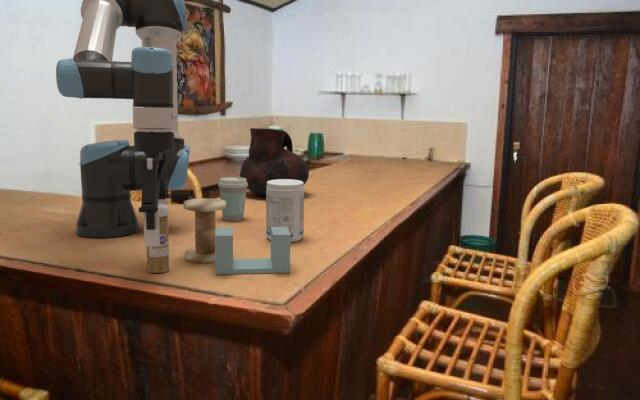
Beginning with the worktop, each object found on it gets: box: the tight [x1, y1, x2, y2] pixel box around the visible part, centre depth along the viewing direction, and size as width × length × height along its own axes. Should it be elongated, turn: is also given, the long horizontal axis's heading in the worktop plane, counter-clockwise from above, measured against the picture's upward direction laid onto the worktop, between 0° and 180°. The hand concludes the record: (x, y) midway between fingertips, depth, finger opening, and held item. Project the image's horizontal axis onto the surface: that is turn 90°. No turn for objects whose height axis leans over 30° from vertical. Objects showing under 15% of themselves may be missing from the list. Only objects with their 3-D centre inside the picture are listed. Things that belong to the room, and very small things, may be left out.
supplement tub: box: [265, 179, 305, 243], centre depth 135 cm, size 10×10×15 cm
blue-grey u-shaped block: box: [214, 226, 291, 275], centre depth 111 cm, size 15×7×8 cm, turn 99°
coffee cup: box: [217, 176, 248, 222], centre depth 155 cm, size 8×8×12 cm
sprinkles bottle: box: [145, 204, 170, 274], centre depth 107 cm, size 5×5×14 cm
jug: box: [239, 127, 310, 198], centre depth 195 cm, size 25×25×25 cm
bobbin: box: [183, 197, 226, 264], centre depth 117 cm, size 9×9×12 cm
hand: (157, 237), depth 107 cm, fingers open, 13 cm apart
